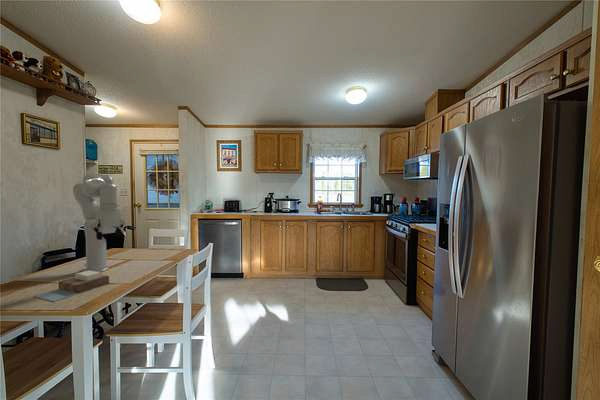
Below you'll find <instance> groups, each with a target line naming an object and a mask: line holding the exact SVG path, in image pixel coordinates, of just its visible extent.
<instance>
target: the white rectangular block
mask: <svg viewBox="0 0 600 400" xmlns="http://www.w3.org/2000/svg"><path fill="white" fill-rule="evenodd" d="M100 275H101V272H95V271H89V270H88V271H85V272H83V271H81V272H77V273H75V276H74V277H75V279H80V280H85V281H88V280H92V279H95V278H99V277H100Z"/></svg>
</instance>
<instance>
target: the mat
mask: <svg viewBox="0 0 600 400" xmlns="http://www.w3.org/2000/svg"><path fill="white" fill-rule="evenodd" d="M77 295H79V294H78V293H74V292H70V291H65V290H61V289H59V288H57V289H53V290H50V291H46V292H43V293H39V294H36V295H33V297H34V298H37V299H41V300H43V301H47V302H52V303H53V302H54V303H55V302H58V301H61V300H65V299H68V298H70V297H74V296H77Z"/></svg>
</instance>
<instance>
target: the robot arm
mask: <svg viewBox="0 0 600 400" xmlns="http://www.w3.org/2000/svg"><path fill="white" fill-rule="evenodd" d="M72 194H73V196H74V199H75V201H76V202H77V203H78V204H79V206H80V208H81V212H82V215H83V218H84V219H85V221H84V223H83V231H84V236H85V263H84V264H83V266H84V267H85V268H84V269H83V270H82V272H85V271H88V270H89V271H95V272H100V273H103V272H106V271H108V270H109V269H110V266H109V265H107V239H106V238H104V236H103V235H104V234H112V233H114V234H115V237H116V238H120V237H121V233H122V229H123V228H124V226H125V224H126V221H125V220H123V219H121V216H120V211H119V208H118V207H119V206H120V204H118V186H117V184H114V180H113V178H112V176H111V175H110V174H104V173H87V174H85V175H84V176H83V177H82V182H79V183H76V184H74V185H73V188H72ZM94 198H99V203H98V201H97V200H96V199H94Z"/></svg>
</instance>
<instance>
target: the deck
mask: <svg viewBox="0 0 600 400" xmlns="http://www.w3.org/2000/svg"><path fill="white" fill-rule="evenodd" d="M108 284H110V275H106V274H100V277H99V278H95V279H92V280H88V281H85V280H80V279H75V276H74V277H71V278H66V279H63V280H59V281H58V289H61V290H65V291H70V292H74V293H78V294H77V295H79V294H82V293H85V292H87V291H91V290H93V289H97V288H100V287H103V286H106V285H108Z"/></svg>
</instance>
